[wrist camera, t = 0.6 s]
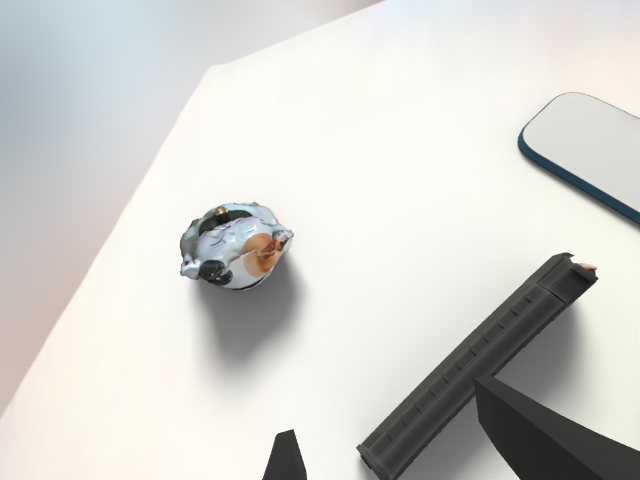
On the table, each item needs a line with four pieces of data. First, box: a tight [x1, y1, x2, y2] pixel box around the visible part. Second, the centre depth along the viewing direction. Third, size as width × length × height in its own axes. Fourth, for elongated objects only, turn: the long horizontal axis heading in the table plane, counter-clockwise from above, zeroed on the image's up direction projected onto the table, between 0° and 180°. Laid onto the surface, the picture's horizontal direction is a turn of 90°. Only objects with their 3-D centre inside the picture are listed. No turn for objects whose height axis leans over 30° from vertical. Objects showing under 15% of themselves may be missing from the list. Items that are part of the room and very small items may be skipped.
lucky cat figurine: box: [180, 202, 294, 291], centre depth 39 cm, size 15×12×14 cm
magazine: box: [356, 253, 598, 480], centre depth 30 cm, size 17×3×30 cm
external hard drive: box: [518, 92, 640, 224], centre depth 37 cm, size 24×12×2 cm, turn 41°
